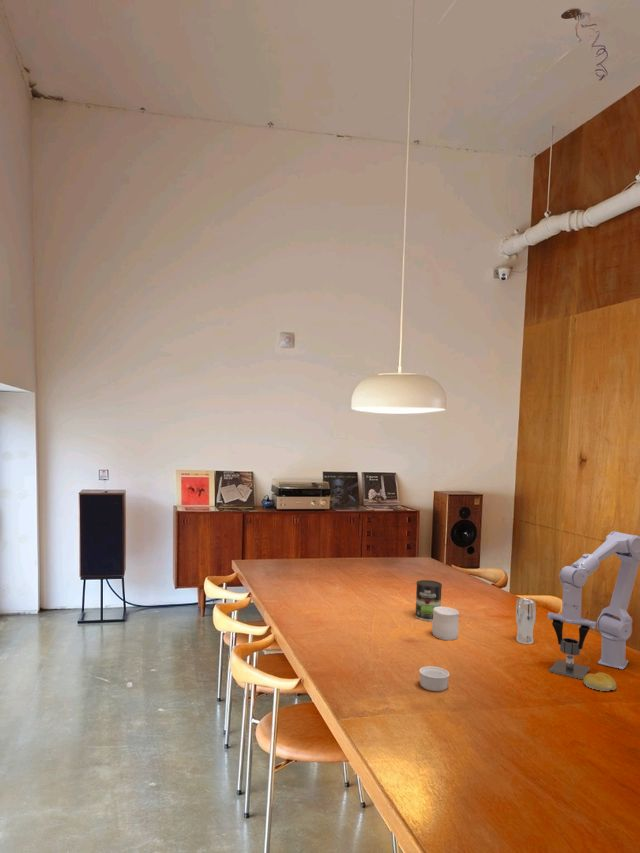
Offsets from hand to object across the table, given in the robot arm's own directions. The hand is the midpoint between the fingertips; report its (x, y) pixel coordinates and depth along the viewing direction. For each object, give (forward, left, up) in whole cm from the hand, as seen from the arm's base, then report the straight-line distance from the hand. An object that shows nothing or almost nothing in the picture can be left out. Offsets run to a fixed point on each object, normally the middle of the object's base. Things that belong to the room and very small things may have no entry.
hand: (570, 646), depth 195 cm
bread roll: (+7, +10, -8) cm, 15 cm away
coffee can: (-21, -60, -8) cm, 64 cm away
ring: (0, 0, -2) cm, 2 cm away
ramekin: (+40, -29, -8) cm, 51 cm away
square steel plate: (0, 0, -8) cm, 8 cm away
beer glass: (-19, -20, -8) cm, 28 cm away
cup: (-4, -45, -8) cm, 46 cm away
